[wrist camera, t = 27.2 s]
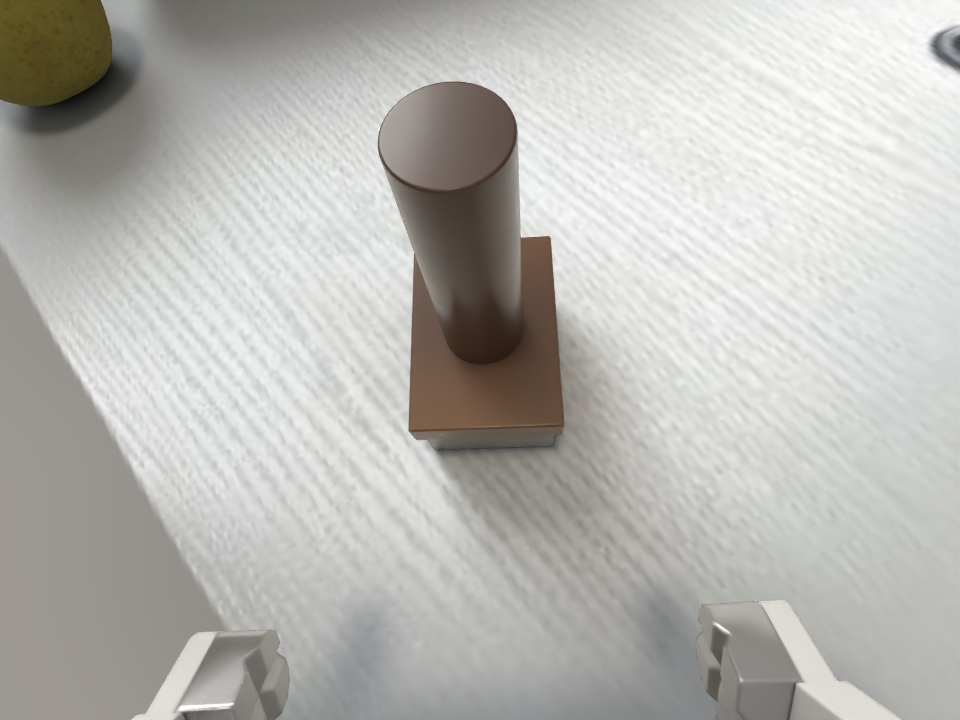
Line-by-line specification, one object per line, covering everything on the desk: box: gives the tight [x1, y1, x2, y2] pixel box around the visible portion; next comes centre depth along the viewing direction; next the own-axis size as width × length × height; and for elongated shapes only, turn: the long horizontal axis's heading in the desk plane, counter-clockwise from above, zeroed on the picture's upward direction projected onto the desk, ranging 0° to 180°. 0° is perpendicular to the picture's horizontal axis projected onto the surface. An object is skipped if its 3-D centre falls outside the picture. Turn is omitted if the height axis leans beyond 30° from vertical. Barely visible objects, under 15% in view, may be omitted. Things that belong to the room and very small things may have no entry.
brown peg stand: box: [378, 82, 564, 450], centre depth 16 cm, size 7×5×12 cm
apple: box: [0, 0, 112, 106], centre depth 26 cm, size 8×8×7 cm
